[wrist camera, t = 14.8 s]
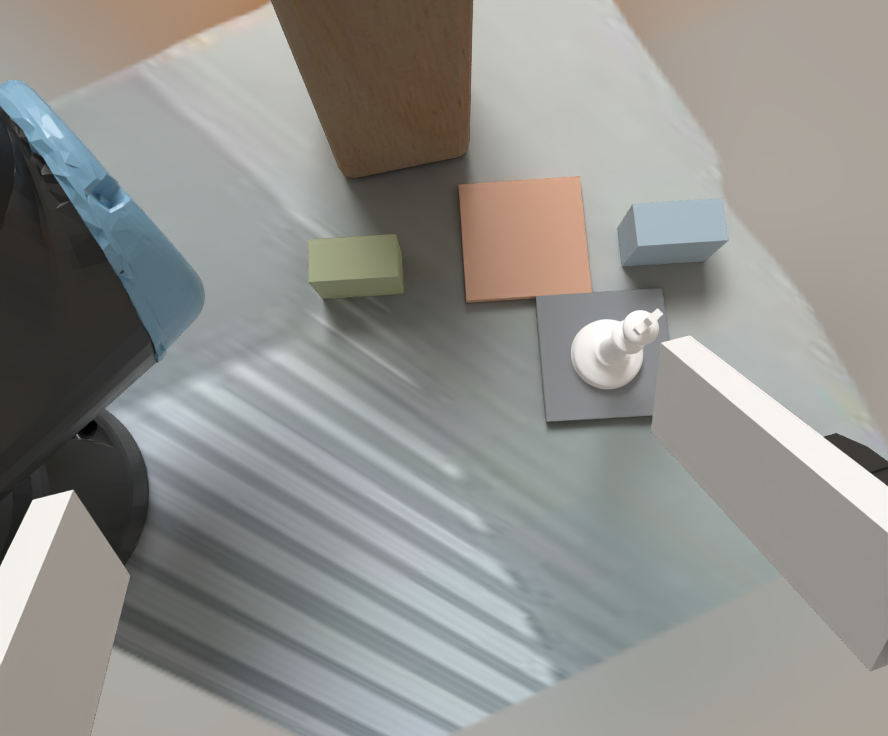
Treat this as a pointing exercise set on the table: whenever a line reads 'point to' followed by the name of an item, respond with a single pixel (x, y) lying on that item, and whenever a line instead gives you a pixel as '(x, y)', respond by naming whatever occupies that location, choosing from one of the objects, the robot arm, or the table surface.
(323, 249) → the brick olive
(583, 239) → the pad terracotta
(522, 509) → the table surface
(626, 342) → the chess piece
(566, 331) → the pad slate
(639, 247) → the brick blue
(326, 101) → the wooden block
